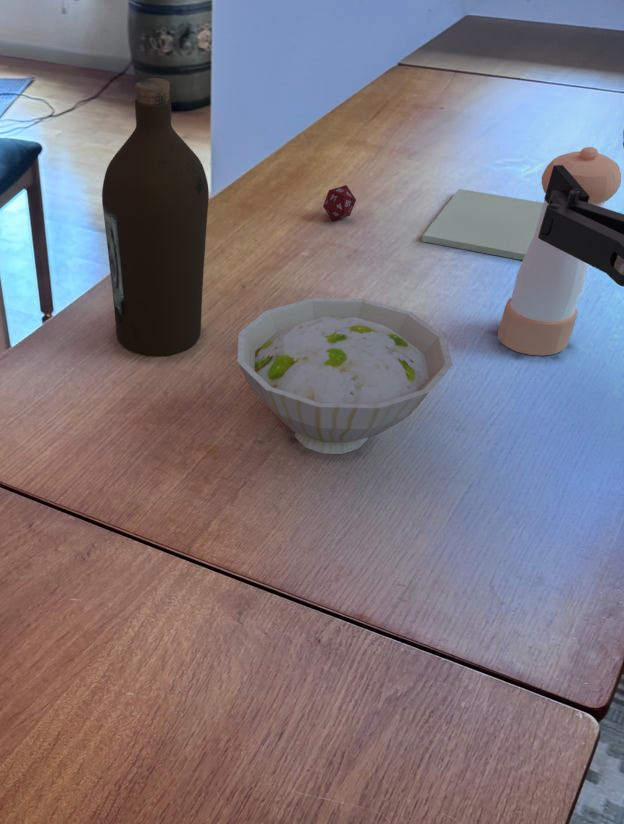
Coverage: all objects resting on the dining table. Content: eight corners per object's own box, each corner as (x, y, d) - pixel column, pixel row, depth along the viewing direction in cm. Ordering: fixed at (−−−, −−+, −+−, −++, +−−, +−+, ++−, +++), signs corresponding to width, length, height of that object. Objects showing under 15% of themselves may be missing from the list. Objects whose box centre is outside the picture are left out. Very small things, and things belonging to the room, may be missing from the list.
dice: (315, 219, 120) (318, 188, 117) (337, 209, 122) (341, 178, 119) (337, 228, 118) (341, 196, 115) (359, 217, 120) (364, 186, 117)
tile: (579, 215, 119) (581, 208, 118) (551, 265, 109) (553, 259, 109) (457, 194, 124) (459, 188, 124) (421, 241, 115) (422, 235, 114)
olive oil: (203, 310, 105) (207, 62, 86) (208, 358, 98) (213, 100, 79) (112, 313, 105) (96, 67, 87) (110, 361, 98) (92, 104, 79)
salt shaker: (487, 344, 98) (538, 154, 84) (510, 315, 102) (562, 129, 88) (556, 362, 95) (620, 168, 81) (576, 332, 99) (641, 142, 85)
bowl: (189, 429, 89) (190, 335, 82) (324, 358, 97) (335, 266, 90) (339, 524, 79) (354, 426, 71) (475, 435, 87) (502, 339, 79)
